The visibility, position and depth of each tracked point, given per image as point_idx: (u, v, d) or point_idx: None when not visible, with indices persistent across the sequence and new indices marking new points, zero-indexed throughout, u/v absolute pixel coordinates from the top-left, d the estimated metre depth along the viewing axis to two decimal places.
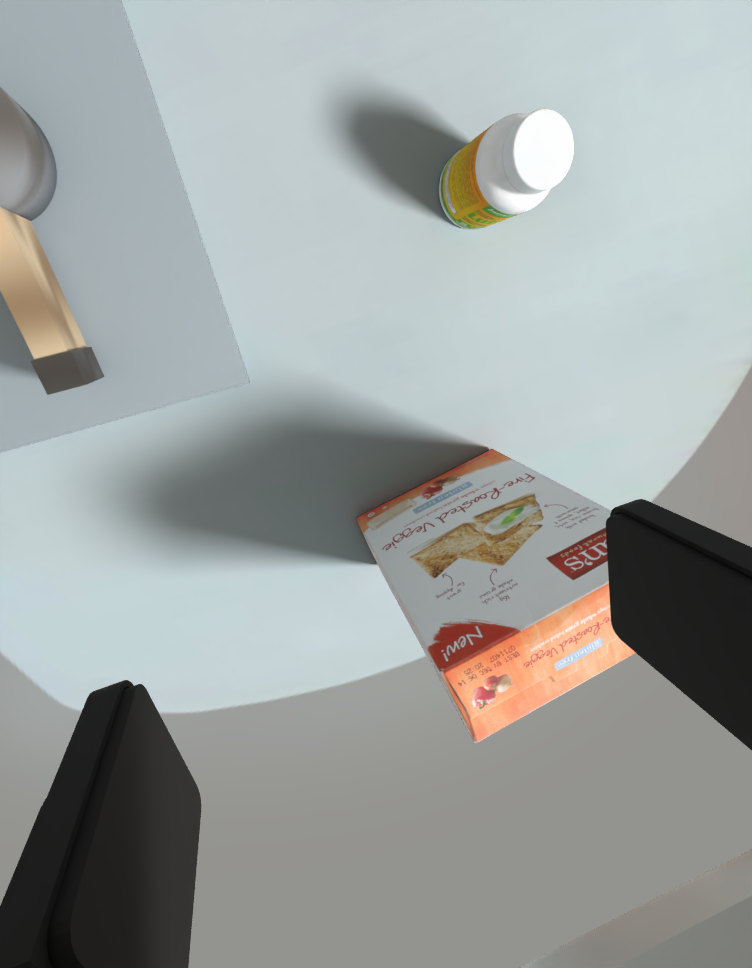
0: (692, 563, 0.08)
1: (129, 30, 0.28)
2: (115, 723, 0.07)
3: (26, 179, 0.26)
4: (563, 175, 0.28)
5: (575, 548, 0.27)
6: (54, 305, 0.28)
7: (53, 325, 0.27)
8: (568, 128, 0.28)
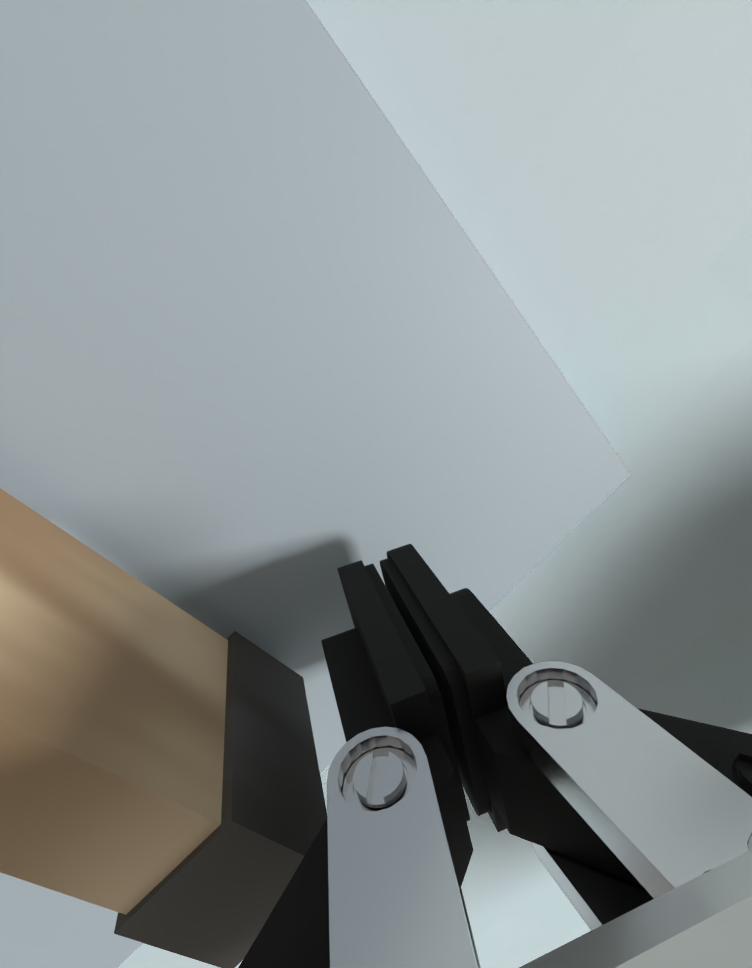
0: (412, 613, 0.08)
1: None
2: (374, 583, 0.09)
3: None
4: None
5: None
6: (76, 657, 0.07)
7: (117, 782, 0.06)
8: None
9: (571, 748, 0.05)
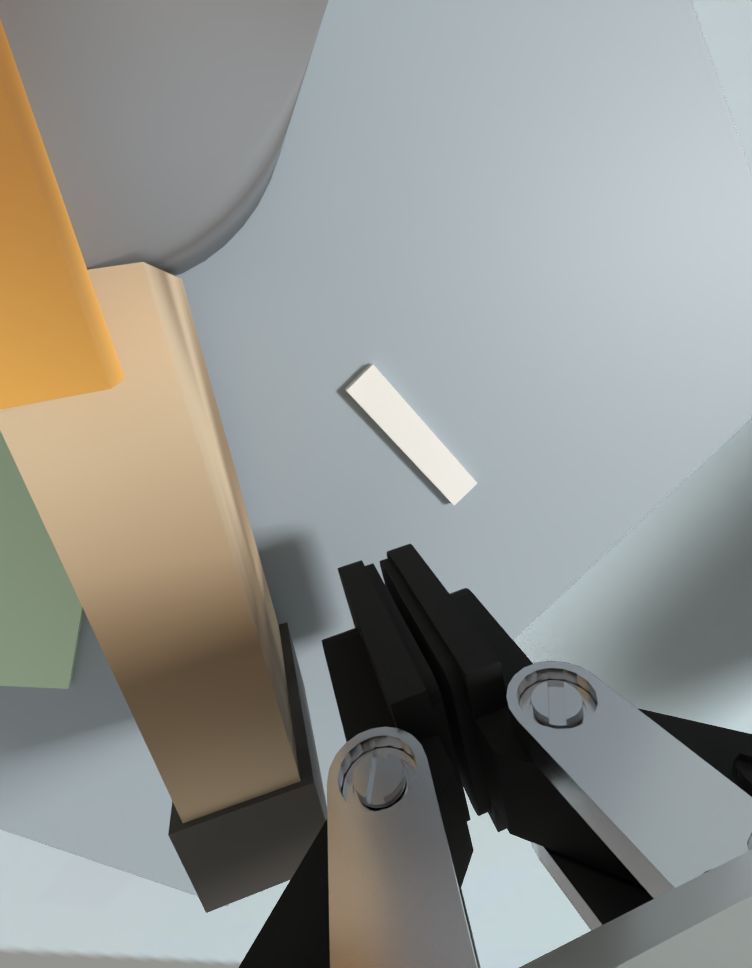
0: (412, 613, 0.08)
1: None
2: (375, 583, 0.09)
3: (278, 131, 0.05)
4: None
5: None
6: (256, 596, 0.08)
7: (273, 712, 0.07)
8: None
9: (571, 748, 0.05)
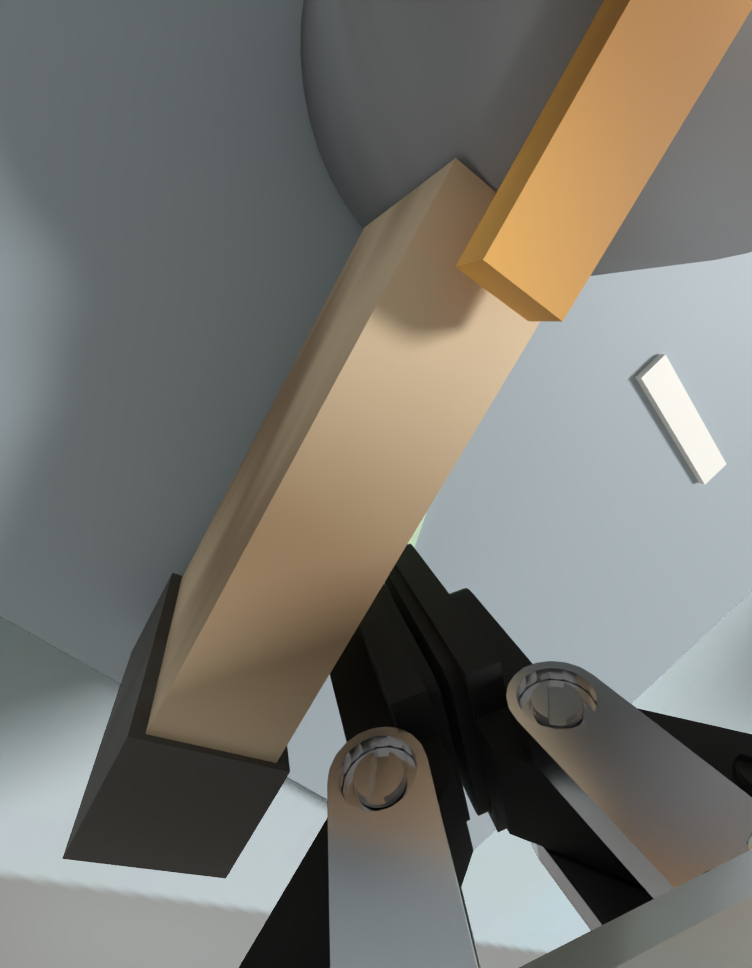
0: (412, 613, 0.08)
1: None
2: None
3: None
4: None
5: None
6: None
7: (323, 674, 0.06)
8: None
9: (571, 748, 0.05)
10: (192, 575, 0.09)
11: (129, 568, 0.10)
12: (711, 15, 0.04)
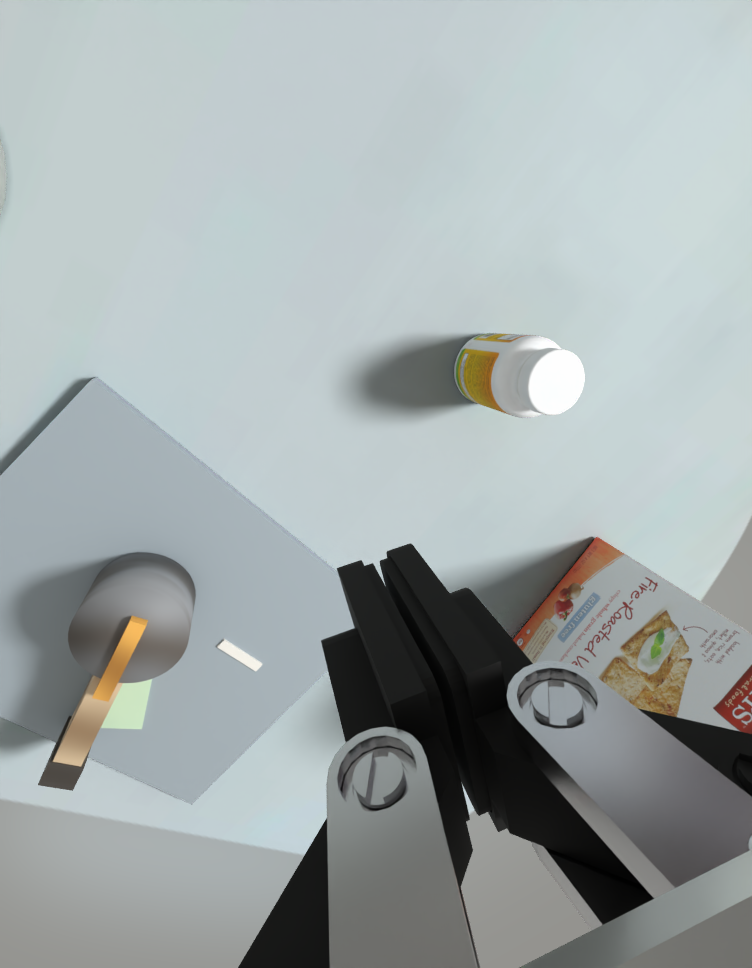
0: (412, 613, 0.08)
1: (185, 455, 0.33)
2: (374, 583, 0.09)
3: None
4: (582, 387, 0.30)
5: (736, 693, 0.31)
6: None
7: (88, 749, 0.33)
8: (570, 353, 0.29)
9: (572, 748, 0.05)
10: (70, 720, 0.35)
11: (58, 712, 0.37)
12: (120, 667, 0.31)
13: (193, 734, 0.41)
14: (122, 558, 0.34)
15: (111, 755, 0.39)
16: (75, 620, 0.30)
